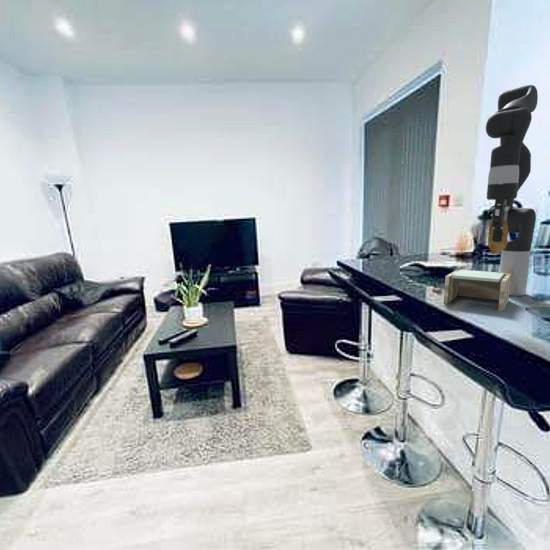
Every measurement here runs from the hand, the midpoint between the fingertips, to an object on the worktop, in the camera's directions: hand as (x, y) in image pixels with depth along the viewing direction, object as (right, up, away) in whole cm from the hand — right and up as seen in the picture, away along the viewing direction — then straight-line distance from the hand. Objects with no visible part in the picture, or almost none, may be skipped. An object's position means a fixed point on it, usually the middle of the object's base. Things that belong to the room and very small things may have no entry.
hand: (497, 241), depth 102 cm
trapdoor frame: (+5, -20, +19) cm, 29 cm away
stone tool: (0, -4, +1) cm, 4 cm away
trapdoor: (+5, -11, +18) cm, 22 cm away
